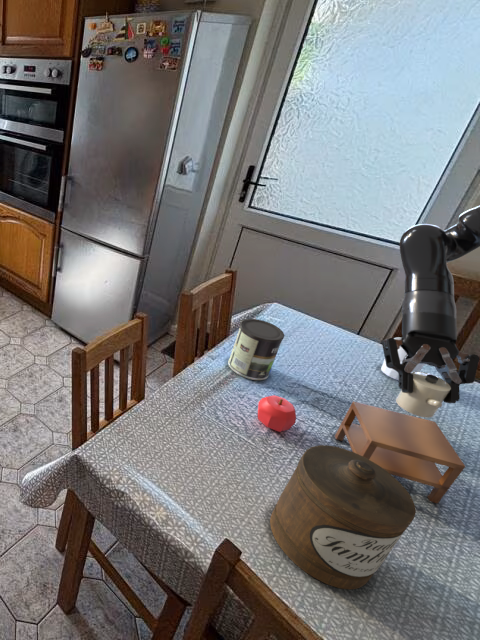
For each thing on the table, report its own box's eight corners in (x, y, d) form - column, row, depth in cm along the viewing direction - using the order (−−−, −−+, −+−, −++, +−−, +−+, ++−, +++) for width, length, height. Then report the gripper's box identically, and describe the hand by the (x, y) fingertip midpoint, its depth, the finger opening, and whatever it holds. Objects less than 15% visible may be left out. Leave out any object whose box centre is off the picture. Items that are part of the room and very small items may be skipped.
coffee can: (271, 367, 121) (287, 327, 115) (264, 386, 114) (281, 345, 108) (232, 352, 127) (245, 314, 121) (223, 369, 120) (236, 329, 114)
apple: (260, 406, 107) (270, 383, 104) (296, 426, 102) (307, 402, 98) (247, 420, 103) (256, 396, 100) (283, 442, 97) (294, 417, 94)
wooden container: (314, 595, 70) (367, 514, 60) (251, 509, 83) (287, 432, 73) (393, 585, 71) (458, 504, 61) (319, 502, 84) (362, 425, 75)
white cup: (380, 376, 117) (395, 348, 112) (375, 361, 123) (390, 334, 118) (418, 387, 113) (436, 359, 108) (412, 371, 118) (428, 343, 114)
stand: (411, 457, 93) (435, 421, 88) (437, 503, 84) (465, 466, 79) (334, 435, 99) (352, 401, 94) (350, 477, 89) (371, 440, 84)
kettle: (391, 393, 88) (408, 364, 84) (426, 402, 86) (445, 372, 82) (407, 420, 81) (426, 390, 78) (445, 430, 79) (467, 399, 76)
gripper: (393, 304, 85) (391, 385, 81) (491, 320, 79) (494, 409, 75) (374, 312, 92) (371, 388, 87) (462, 328, 86) (464, 410, 82)
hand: (428, 397), depth 81 cm, fingers closed on kettle, 5 cm apart
